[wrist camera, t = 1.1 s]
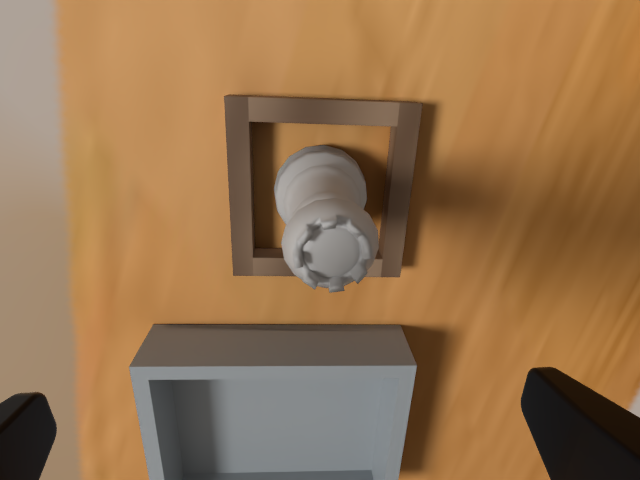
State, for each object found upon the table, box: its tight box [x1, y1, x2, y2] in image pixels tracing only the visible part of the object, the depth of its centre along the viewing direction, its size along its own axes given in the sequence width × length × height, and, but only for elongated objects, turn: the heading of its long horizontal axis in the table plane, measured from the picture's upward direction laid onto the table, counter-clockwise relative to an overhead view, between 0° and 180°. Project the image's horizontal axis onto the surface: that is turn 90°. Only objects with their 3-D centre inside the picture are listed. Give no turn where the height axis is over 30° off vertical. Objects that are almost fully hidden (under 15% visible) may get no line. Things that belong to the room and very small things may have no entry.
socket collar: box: [224, 95, 422, 277], centre depth 19 cm, size 8×8×1 cm
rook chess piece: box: [274, 145, 379, 293], centre depth 16 cm, size 4×4×8 cm
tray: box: [129, 324, 417, 480], centre depth 23 cm, size 14×12×4 cm
